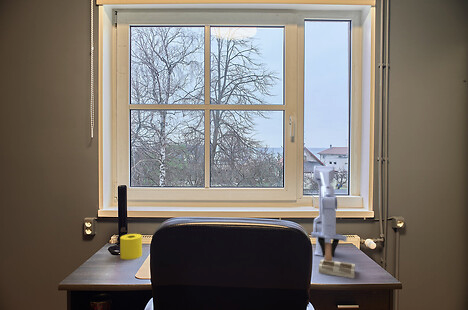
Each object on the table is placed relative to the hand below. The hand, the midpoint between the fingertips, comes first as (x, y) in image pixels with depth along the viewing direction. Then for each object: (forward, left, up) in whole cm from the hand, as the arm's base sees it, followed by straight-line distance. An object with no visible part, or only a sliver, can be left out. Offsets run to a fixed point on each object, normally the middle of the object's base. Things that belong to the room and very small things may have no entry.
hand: (328, 255), depth 129 cm
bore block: (0, +3, -6) cm, 7 cm away
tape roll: (+20, -91, -7) cm, 93 cm away
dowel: (0, 0, -2) cm, 2 cm away
